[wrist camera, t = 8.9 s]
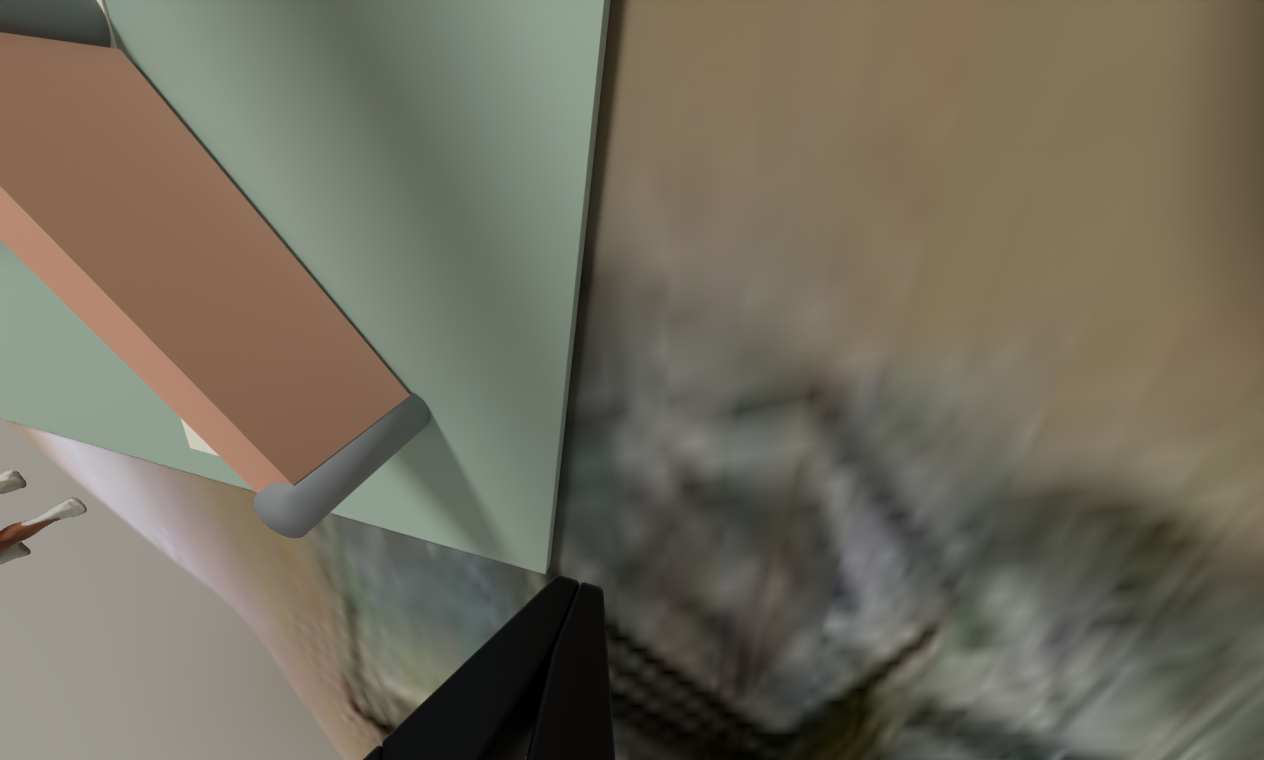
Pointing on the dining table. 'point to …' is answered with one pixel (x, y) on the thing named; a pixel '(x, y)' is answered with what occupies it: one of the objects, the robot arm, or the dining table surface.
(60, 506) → the bull figurine
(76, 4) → the bar
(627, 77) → the dining table surface
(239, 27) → the card
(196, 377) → the salmon brown flat block
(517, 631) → the robot arm
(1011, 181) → the dining table surface
